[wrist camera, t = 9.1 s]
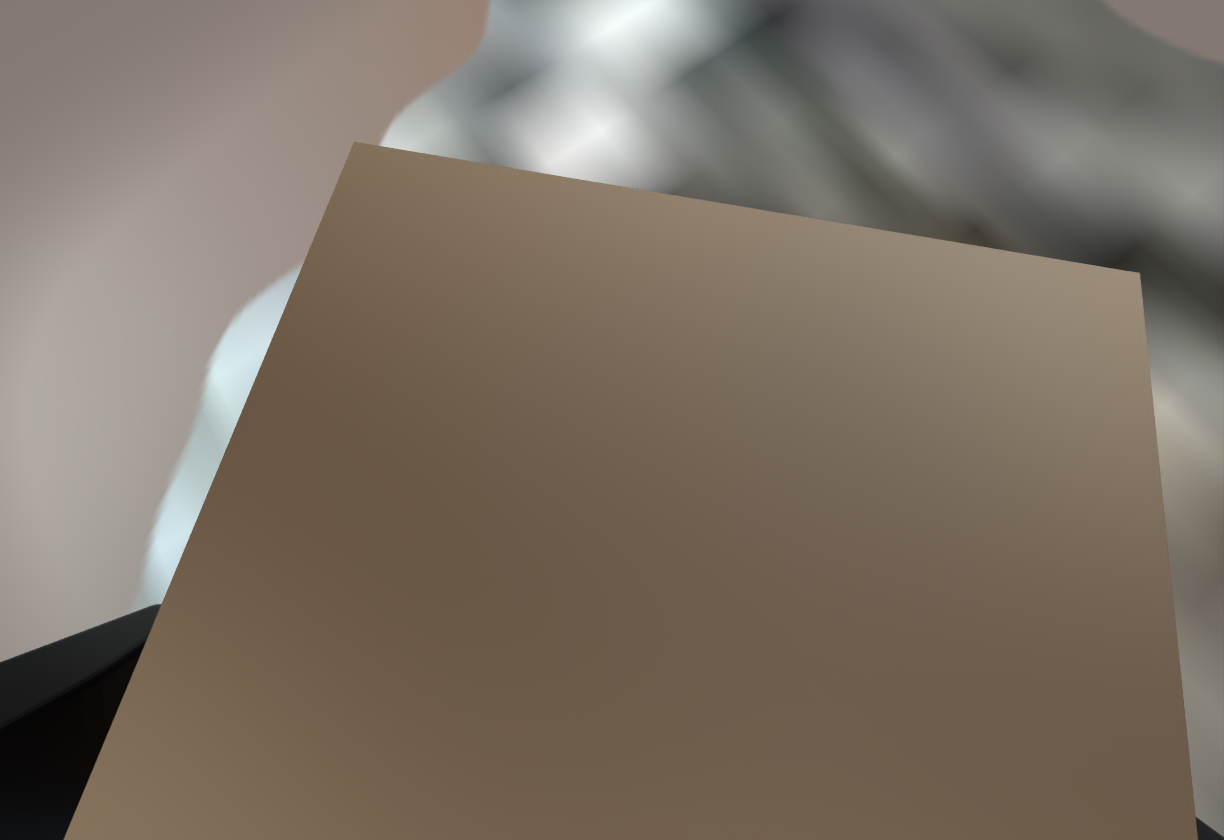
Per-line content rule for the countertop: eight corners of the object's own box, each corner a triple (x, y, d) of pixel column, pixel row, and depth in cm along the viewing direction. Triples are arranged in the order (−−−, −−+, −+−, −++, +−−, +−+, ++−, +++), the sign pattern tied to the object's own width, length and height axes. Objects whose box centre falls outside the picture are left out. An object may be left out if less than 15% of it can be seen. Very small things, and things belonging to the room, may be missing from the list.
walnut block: (719, 911, 15) (1254, 1404, 3) (451, 855, 15) (-45, 1096, 3) (750, 636, 17) (1139, 272, 5) (514, 590, 17) (353, 140, 5)
